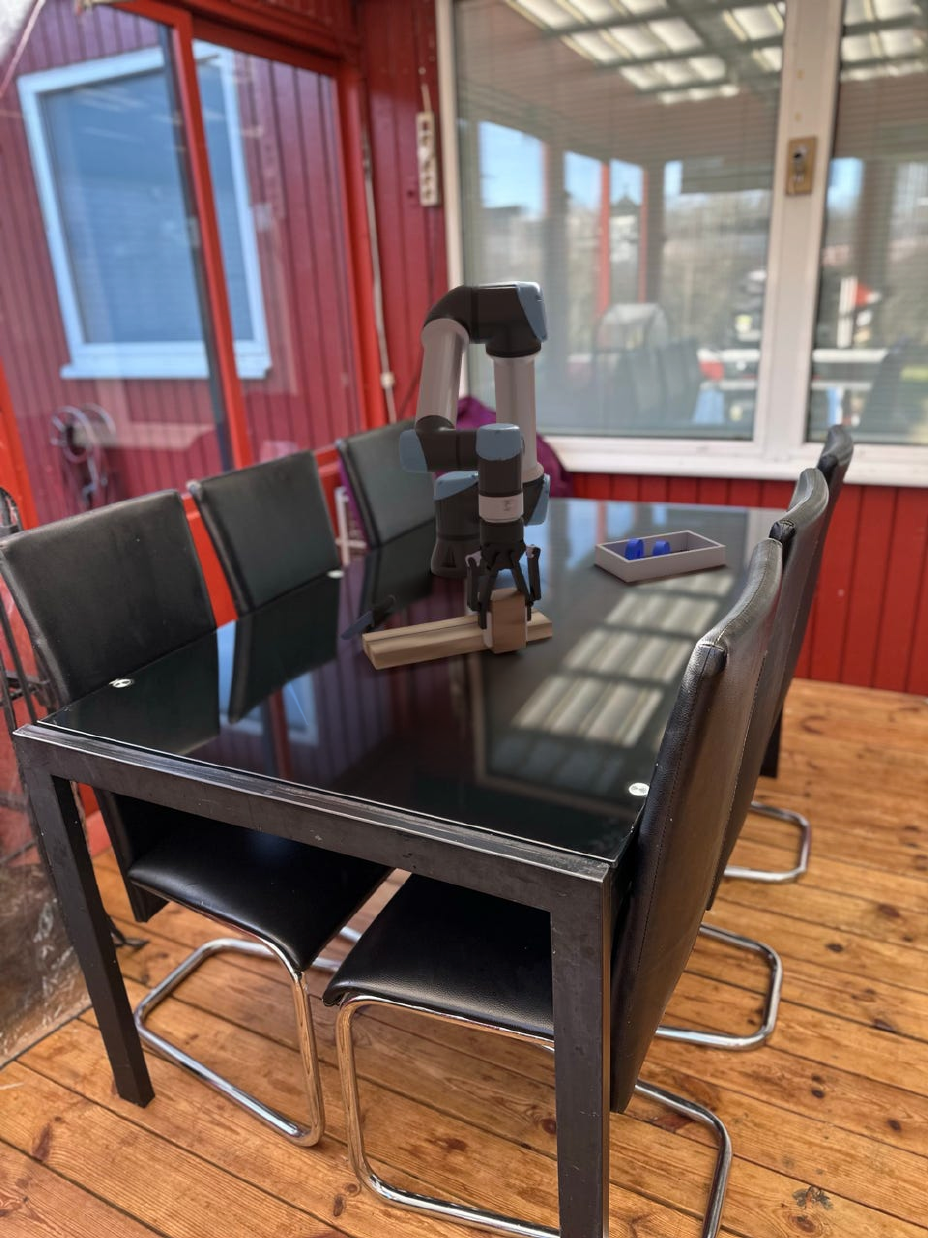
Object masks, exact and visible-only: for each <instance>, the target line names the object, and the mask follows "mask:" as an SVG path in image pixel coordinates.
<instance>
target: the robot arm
mask: <svg viewBox="0 0 928 1238" xmlns="http://www.w3.org/2000/svg"><path fill="white" fill-rule="evenodd" d="M548 329H549V328H548V322H547V312H546V306H545V299H544V294H543V289H542V287H541V286H540V284H539V283H537V282H535V281H520V280H515V281H512V280H511V281H500V282H487V283H466V284H461V285H459V286H456V287H454V288H452V289H450V290H449V291H447V292H446V293H445V294H444V295H442V296H441V297H440V298H439V299H438V300H437V301H436V302H435V303H434V304H433V306H432V307H431V308H430V310H429V312H428V313H427V315H426V317H425V319H424V321H423V325H422V330H421V336H420V340H421V341H420V342H421V345H422V347H423V349H424V351H423V359H422V366H421V373H420V374H421V375H420V381H419V382H420V383H419V391H418V397H417V403H416V405H417V406H416V411H415V413H416V414H415V418H414V419H415V420H414V428H411V429H407V430H403V431H402V432H401V434H400V436H399V440H398V452H399V461H400V465H401V468H402V469H403V471H405V472H408V473H418V474H419V473H423V474H428V473H429V474H430V473H444V474H442V475H440V476H438V477H437V478H436V479H435V481H434V485H433V493H434V494H433V498H432V499H433V501H434V513H435V514H434V515H435V529H436V531H435V532H436V533H435V534H436V540H435V541H436V542H435V545H434V549H433V552H432V555H431V560H430V568H431V569H430V570H431V573H432V574H434V575H435V576H438V577H440V578H444V579H454V580H455V579H456V580H458V579H459V580H463V579H466V608H468V609H469V610H470V611H471V612H473V613H474V612H475V613H476V614H478V626H479V627H480V628H481V629H482V630H483V639H484V643H485V644H486V645H487V646H488V647H489V649H490V647H493V642H492V616H491V612H490V611H489V610H488V606H489V602H490V598H491V595H492V591H493V590H494V586H495V584H496V583H495V582H496V579H497V578H498V576H499V572H501V571H504V570H509V571H510V573H511V575H512V579H513V582H514V583H515V588H516V589H517V590H518V591H520V592H521V593H522V594H523V595H525V628H526V642H529V641H528V638H527V622H528V621H531V618H532V616H531V607H534V605H535V603H534V602H536V601H537V602H538V601H539V602H540V601H541V599H542V589H541V587H542V586H541V574H540V573H541V572H540V563H539V562H540V556H541V552H542V550H541V548H540V547H539V546H537V545H536V544H534V543H531V544H530V545H529V544H526V543H525V540H524V538H525V530H524V529H525V528H527V527H528V526H529V527H531V526H540V525H542V524H544V523H545V521H546V519H547V514H548V506H549V498H550V497H549V496H550V488H551V475H550V474H547V473H545V469H544V466H543V465H542V464H541V463H540V462H539V461H538V457H537V455H538V454H537V453H538V451H537V417H536V415H537V414H536V413H537V412H536V409H537V408H536V381H535V380H536V379H535V378H536V377H535V374H536V373H535V372H536V370H535V359H536V356H538V355H539V354H540V353H541V351H542V343H545V342H547V341H548V340H549V330H548ZM469 345H484V346H485V347H484V348H485V349H484V350H485V355H487V356H488V357H489V358H490V359H491V360H492V361H493V378H494V379H493V381H494V399H495V400H494V401H495V415H496V416H495V417H496V418H495V419H496V423H490V424H485V425H481V426H480V427H478V428H477V427H473V428H472V427H471V428H456V427H457V420H458V408H459V398H460V397H459V396H460V388H461V375H462V367H463V366H462V365H463V356H464V355H463V354H464V353H465V352H466V351H467V350H468V347H469ZM524 554H525V556H526V565H527V566H526V567H527V576H528V585H527V582H526V579H525V577H524V574H523V568H522V566H521V563H520V560H521V559H522V557H523V555H524ZM482 576H483V578H482V582H481V587H480V591H479V577H482ZM528 586H529V588H528ZM478 592H480V593H479V597H478Z"/></svg>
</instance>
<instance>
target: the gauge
mask: <svg viewBox="0 0 928 1238" xmlns="http://www.w3.org/2000/svg"><path fill="white" fill-rule="evenodd" d="M479 593H480V591H478V597H479ZM488 610H489V611H490V612H491V616H492V642H493V647H490V648H489V650H491V651H492V652H493V653H494V654H500V653H504V652H510V651H515V650H521V649H526V648H527V641H526V628H525V595H523V594H522V593H521V592H520V591H518V590H517V587H516V586H511V587H505V588H499V589H493V591H492V595H491V598H490V602H489V606H488Z"/></svg>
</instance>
